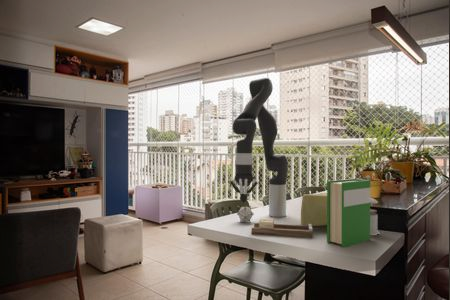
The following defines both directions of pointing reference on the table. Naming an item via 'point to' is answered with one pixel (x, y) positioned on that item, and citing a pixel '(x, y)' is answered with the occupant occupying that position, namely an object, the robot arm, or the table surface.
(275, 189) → the robot arm
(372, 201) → the french press
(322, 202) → the cheese
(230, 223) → the table surface
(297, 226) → the chute
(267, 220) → the maple block
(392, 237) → the table surface
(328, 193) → the hardback book
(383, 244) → the table surface
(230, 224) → the table surface
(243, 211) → the grey bumpy ball
